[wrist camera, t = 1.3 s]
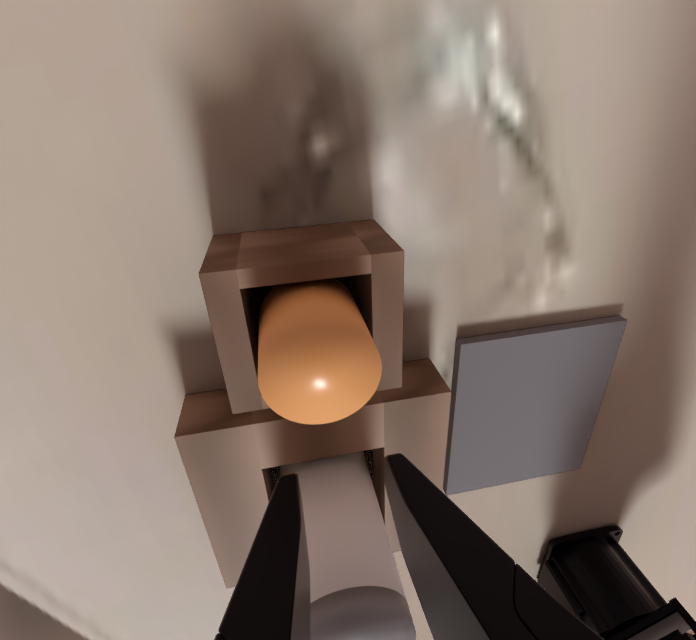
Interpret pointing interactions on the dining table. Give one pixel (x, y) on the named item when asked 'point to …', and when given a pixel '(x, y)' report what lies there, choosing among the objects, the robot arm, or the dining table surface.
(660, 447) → the dining table surface
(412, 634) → the cylinder
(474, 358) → the mat
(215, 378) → the dining table surface
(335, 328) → the release button
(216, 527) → the socket block
